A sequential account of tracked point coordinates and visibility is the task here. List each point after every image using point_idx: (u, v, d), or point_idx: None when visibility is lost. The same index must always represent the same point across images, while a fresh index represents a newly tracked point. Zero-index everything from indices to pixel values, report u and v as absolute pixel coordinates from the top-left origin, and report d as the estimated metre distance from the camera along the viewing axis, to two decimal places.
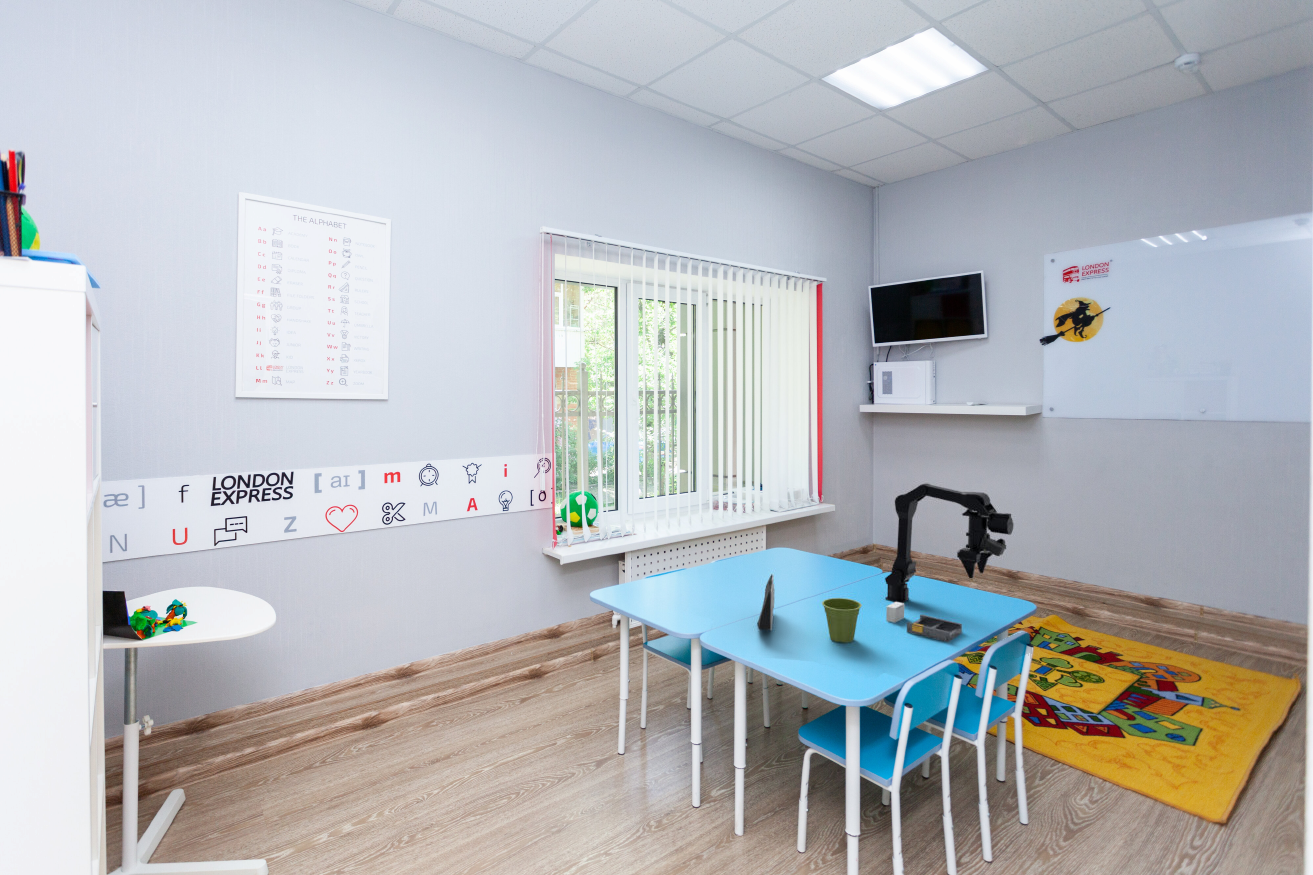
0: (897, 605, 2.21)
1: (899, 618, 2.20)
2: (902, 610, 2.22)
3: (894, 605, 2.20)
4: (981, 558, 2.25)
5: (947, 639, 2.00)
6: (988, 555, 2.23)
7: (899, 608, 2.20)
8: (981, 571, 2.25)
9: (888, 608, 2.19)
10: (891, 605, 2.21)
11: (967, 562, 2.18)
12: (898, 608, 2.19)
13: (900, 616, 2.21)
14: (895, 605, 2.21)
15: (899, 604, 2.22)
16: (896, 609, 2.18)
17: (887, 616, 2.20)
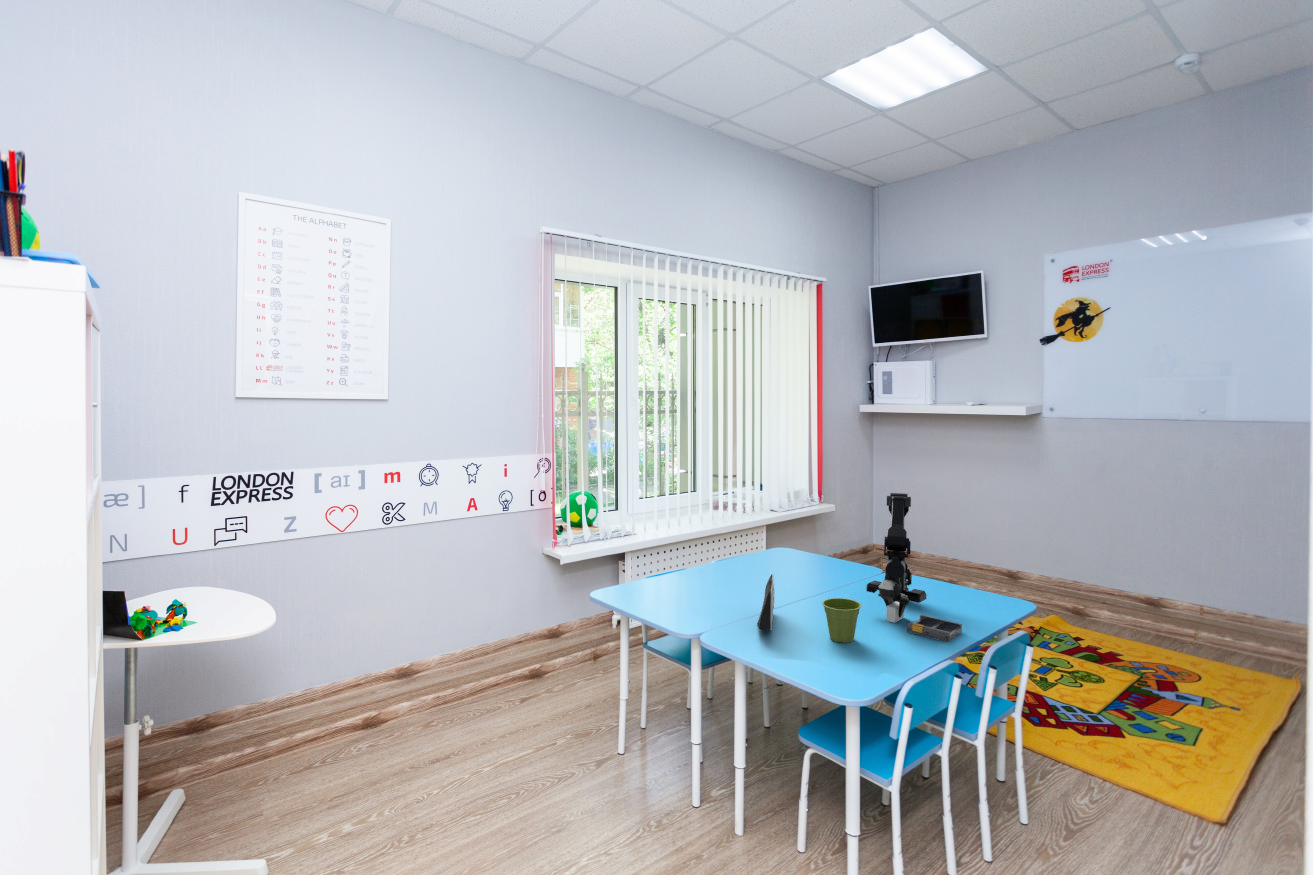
0: (897, 605, 2.21)
1: (899, 618, 2.20)
2: None
3: (894, 605, 2.20)
4: None
5: (947, 639, 2.00)
6: None
7: None
8: None
9: (888, 608, 2.19)
10: (891, 605, 2.21)
11: None
12: (898, 608, 2.19)
13: None
14: (895, 605, 2.21)
15: None
16: (896, 609, 2.18)
17: (887, 615, 2.20)
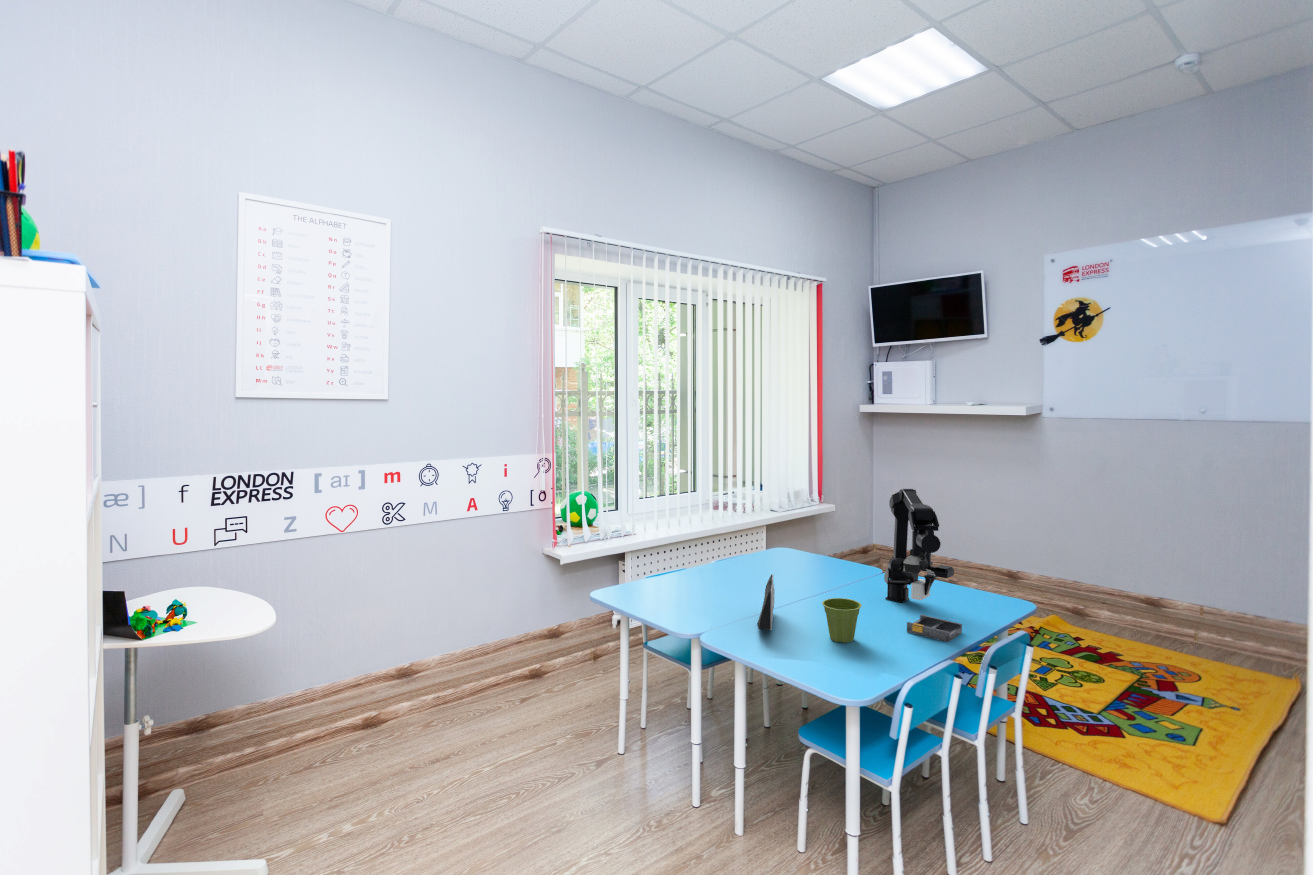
0: (922, 582, 2.10)
1: (925, 596, 2.10)
2: None
3: (919, 582, 2.10)
4: None
5: (947, 639, 2.00)
6: None
7: None
8: None
9: (913, 585, 2.09)
10: (916, 582, 2.10)
11: None
12: (924, 585, 2.09)
13: None
14: (920, 582, 2.10)
15: None
16: (922, 586, 2.08)
17: (912, 593, 2.10)
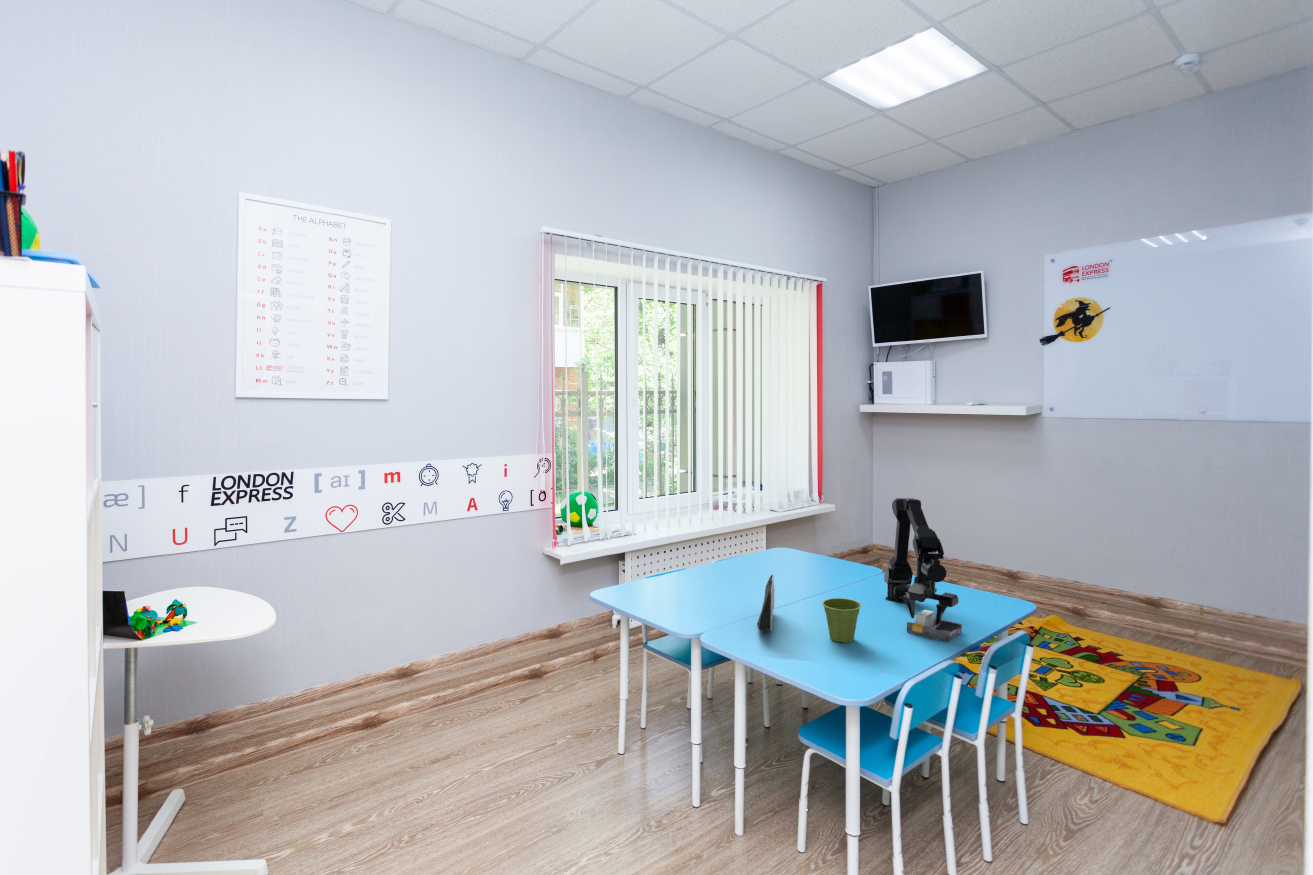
0: (927, 613, 2.10)
1: None
2: (932, 618, 2.11)
3: (923, 614, 2.09)
4: None
5: (947, 639, 2.00)
6: None
7: (929, 616, 2.09)
8: None
9: (917, 616, 2.09)
10: (920, 613, 2.10)
11: None
12: (928, 616, 2.09)
13: (930, 625, 2.10)
14: (924, 613, 2.10)
15: (929, 612, 2.11)
16: (926, 618, 2.08)
17: None
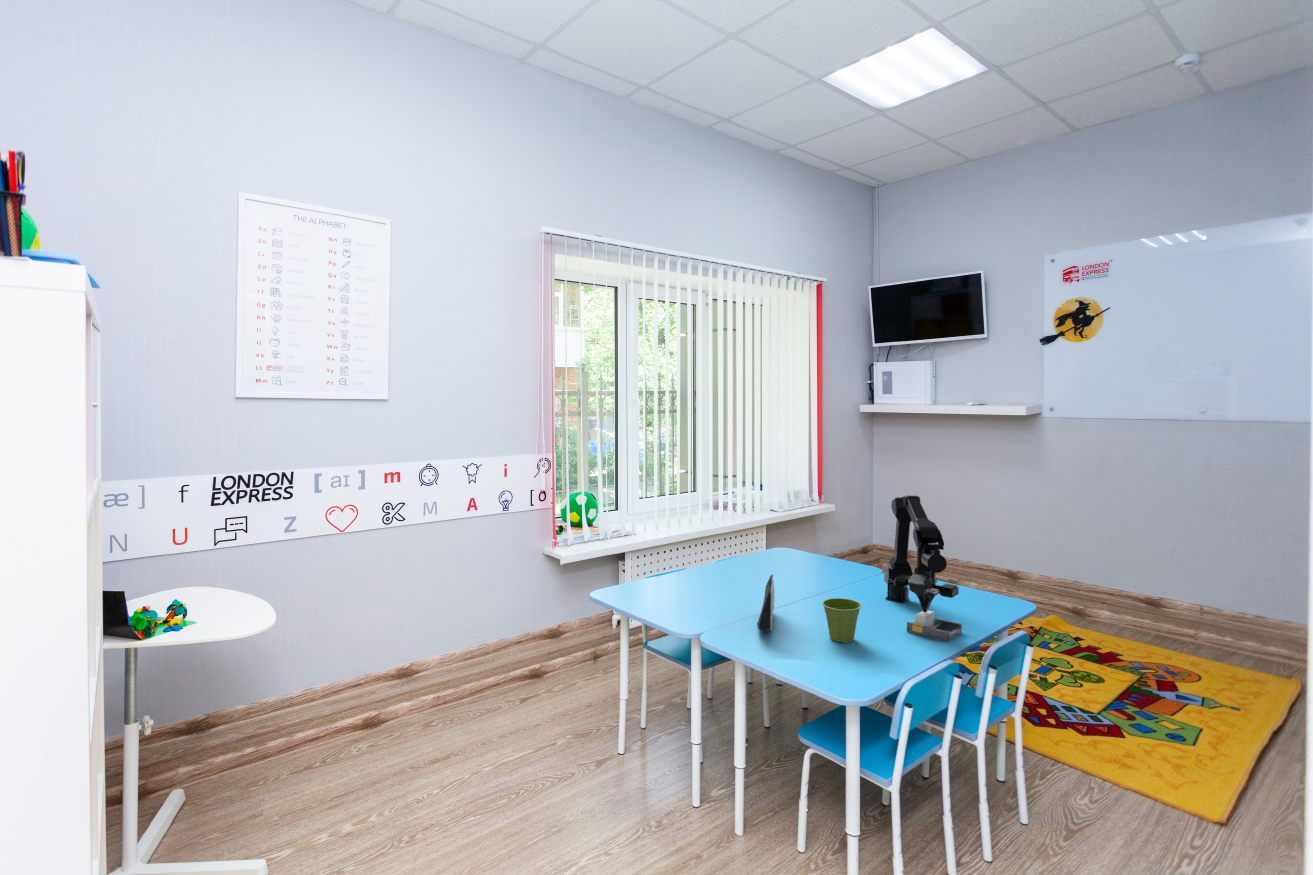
0: (927, 613, 2.10)
1: None
2: (932, 618, 2.11)
3: (923, 614, 2.09)
4: None
5: (947, 639, 2.00)
6: None
7: (929, 616, 2.09)
8: None
9: (917, 616, 2.09)
10: (920, 613, 2.10)
11: None
12: (928, 616, 2.09)
13: (930, 625, 2.10)
14: (924, 613, 2.10)
15: (929, 612, 2.11)
16: (926, 618, 2.08)
17: None
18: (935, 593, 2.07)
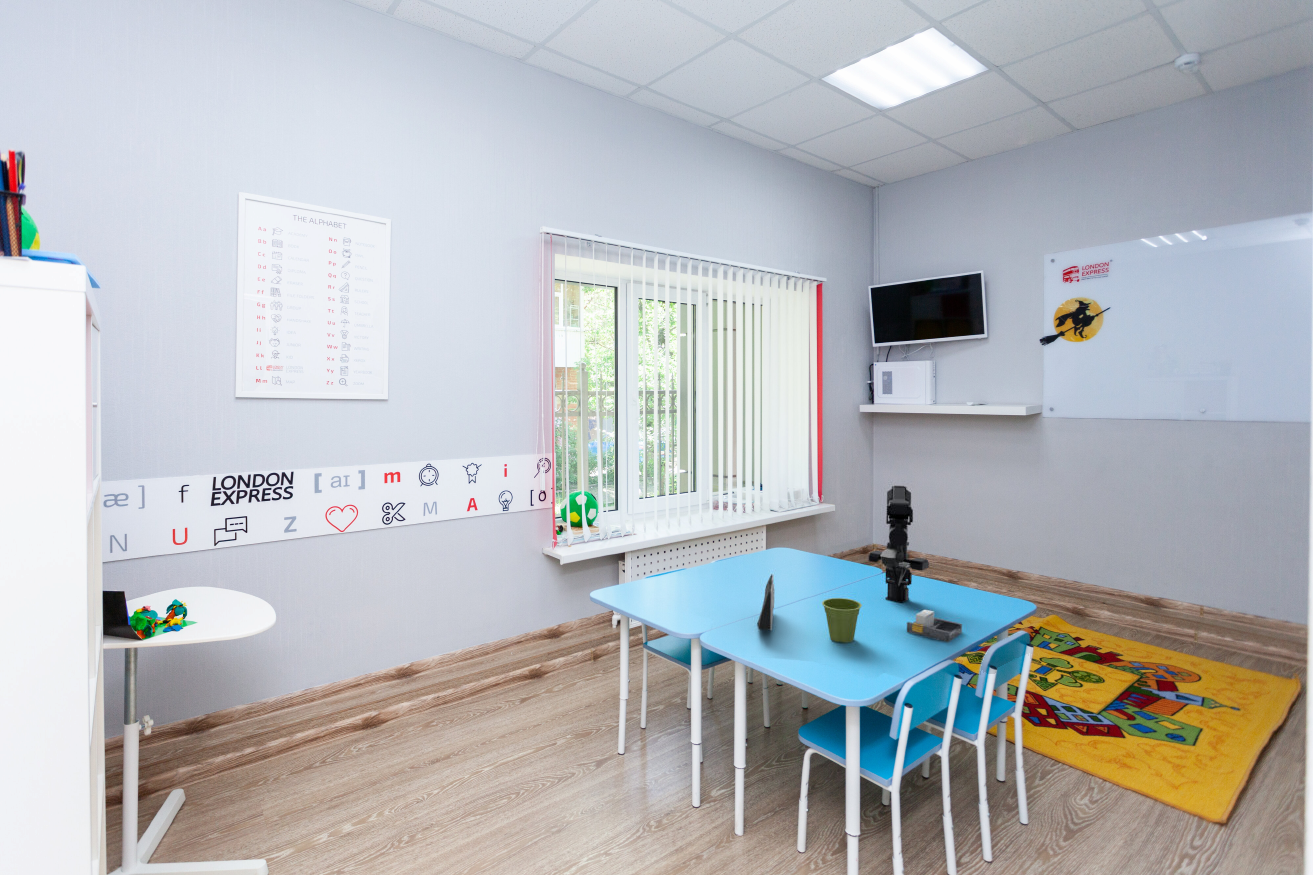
0: (927, 613, 2.10)
1: None
2: (932, 618, 2.11)
3: (923, 614, 2.09)
4: None
5: (947, 639, 2.00)
6: None
7: (929, 616, 2.09)
8: None
9: (917, 616, 2.09)
10: (920, 613, 2.10)
11: None
12: (928, 616, 2.09)
13: (930, 625, 2.10)
14: (924, 613, 2.10)
15: (929, 612, 2.11)
16: (926, 618, 2.08)
17: None
18: (906, 567, 2.16)
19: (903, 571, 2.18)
